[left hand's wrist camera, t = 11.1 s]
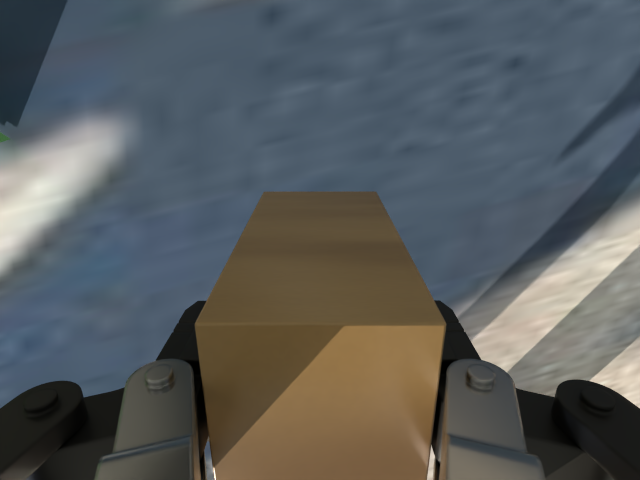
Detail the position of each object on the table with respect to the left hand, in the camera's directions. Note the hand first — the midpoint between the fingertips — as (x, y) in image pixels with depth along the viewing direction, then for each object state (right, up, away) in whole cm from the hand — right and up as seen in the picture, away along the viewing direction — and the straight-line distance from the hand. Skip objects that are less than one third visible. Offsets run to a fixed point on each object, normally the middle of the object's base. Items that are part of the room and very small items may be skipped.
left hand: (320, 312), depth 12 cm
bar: (0, -8, +8) cm, 11 cm away
